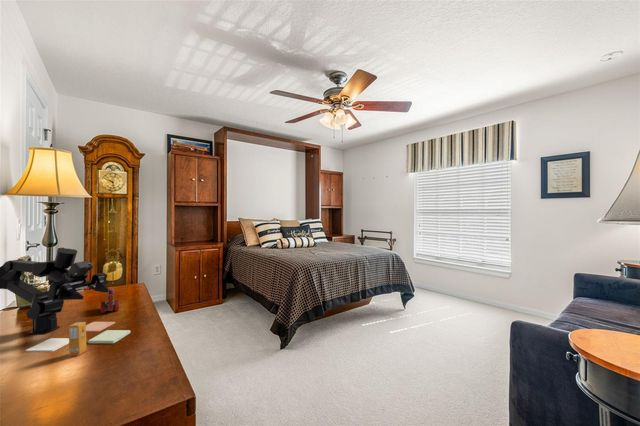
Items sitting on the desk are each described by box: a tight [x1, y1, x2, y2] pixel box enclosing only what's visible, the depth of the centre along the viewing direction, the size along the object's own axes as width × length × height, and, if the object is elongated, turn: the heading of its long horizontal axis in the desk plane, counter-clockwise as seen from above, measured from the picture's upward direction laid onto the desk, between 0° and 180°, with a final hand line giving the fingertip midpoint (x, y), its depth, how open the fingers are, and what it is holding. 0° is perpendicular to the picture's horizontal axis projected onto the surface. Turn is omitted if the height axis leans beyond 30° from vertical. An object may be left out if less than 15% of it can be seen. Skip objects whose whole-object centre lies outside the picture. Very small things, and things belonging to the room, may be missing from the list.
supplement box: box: [68, 321, 87, 357], centre depth 93 cm, size 3×3×10 cm
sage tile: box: [87, 329, 131, 344], centre depth 105 cm, size 9×9×1 cm
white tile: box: [25, 337, 69, 353], centre depth 99 cm, size 9×9×1 cm
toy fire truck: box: [100, 286, 120, 314], centre depth 135 cm, size 7×12×10 cm, turn 38°
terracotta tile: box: [86, 321, 116, 333], centre depth 115 cm, size 9×9×1 cm
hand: (95, 294), depth 105 cm, fingers open, 9 cm apart
